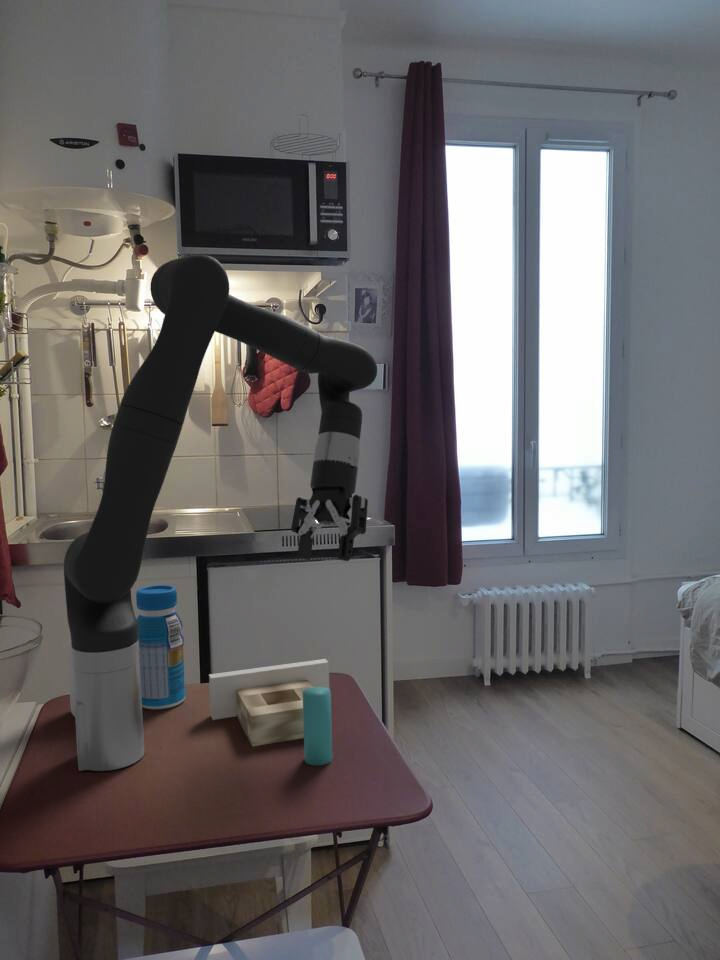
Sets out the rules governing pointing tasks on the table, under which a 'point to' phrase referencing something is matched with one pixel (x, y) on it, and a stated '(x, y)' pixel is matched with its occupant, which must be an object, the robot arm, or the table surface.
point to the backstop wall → (261, 682)
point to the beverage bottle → (160, 647)
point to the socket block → (272, 712)
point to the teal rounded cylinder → (317, 725)
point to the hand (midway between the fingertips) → (323, 559)
